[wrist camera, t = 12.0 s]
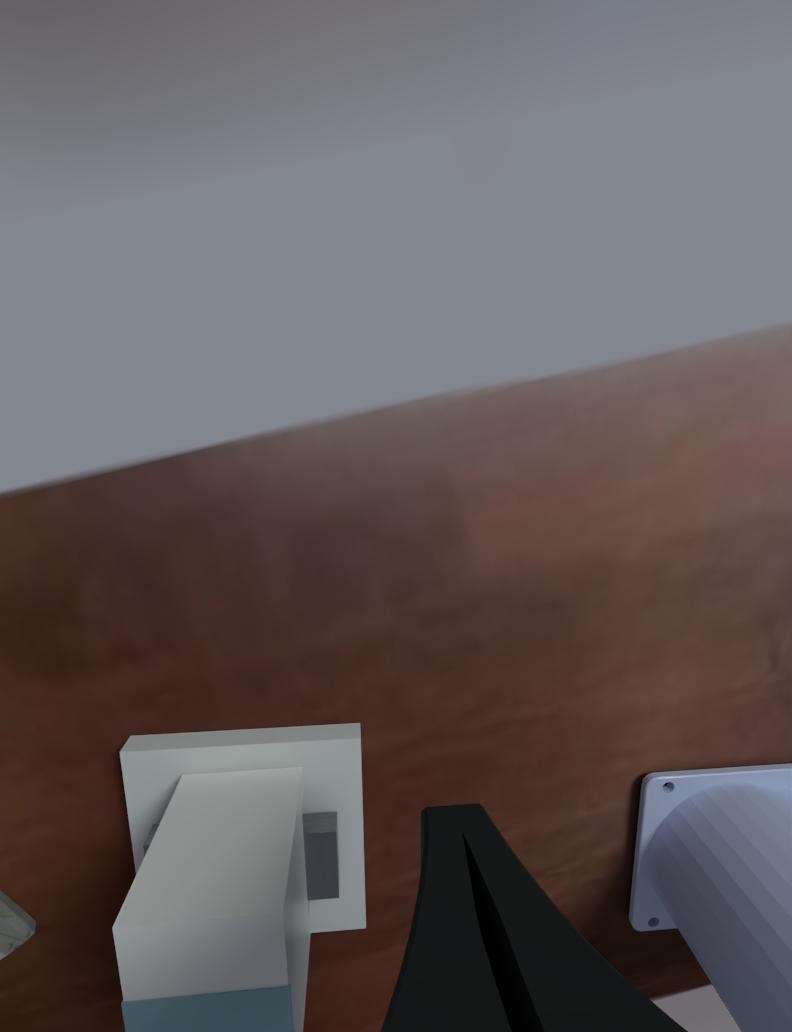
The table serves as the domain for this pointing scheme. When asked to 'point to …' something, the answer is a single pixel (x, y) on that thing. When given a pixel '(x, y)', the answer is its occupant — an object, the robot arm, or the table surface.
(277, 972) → the block
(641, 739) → the table surface
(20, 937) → the packaged product
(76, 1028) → the table surface
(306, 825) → the dark grey flat block
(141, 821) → the base
